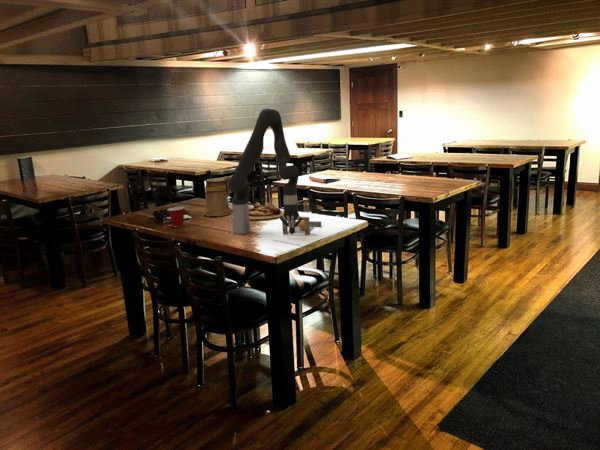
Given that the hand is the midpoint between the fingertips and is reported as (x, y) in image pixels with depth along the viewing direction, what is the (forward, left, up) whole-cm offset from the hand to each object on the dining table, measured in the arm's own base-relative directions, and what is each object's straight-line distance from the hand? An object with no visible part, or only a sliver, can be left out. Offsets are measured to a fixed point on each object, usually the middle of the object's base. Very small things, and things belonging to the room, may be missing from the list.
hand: (292, 233), depth 273 cm
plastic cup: (-81, +20, -2) cm, 83 cm away
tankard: (-69, +57, -3) cm, 90 cm away
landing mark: (0, +17, -2) cm, 17 cm away
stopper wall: (0, +26, -2) cm, 26 cm away
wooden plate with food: (-37, +53, -3) cm, 65 cm away
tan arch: (0, +8, -2) cm, 8 cm away
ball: (+2, +17, +1) cm, 17 cm away
